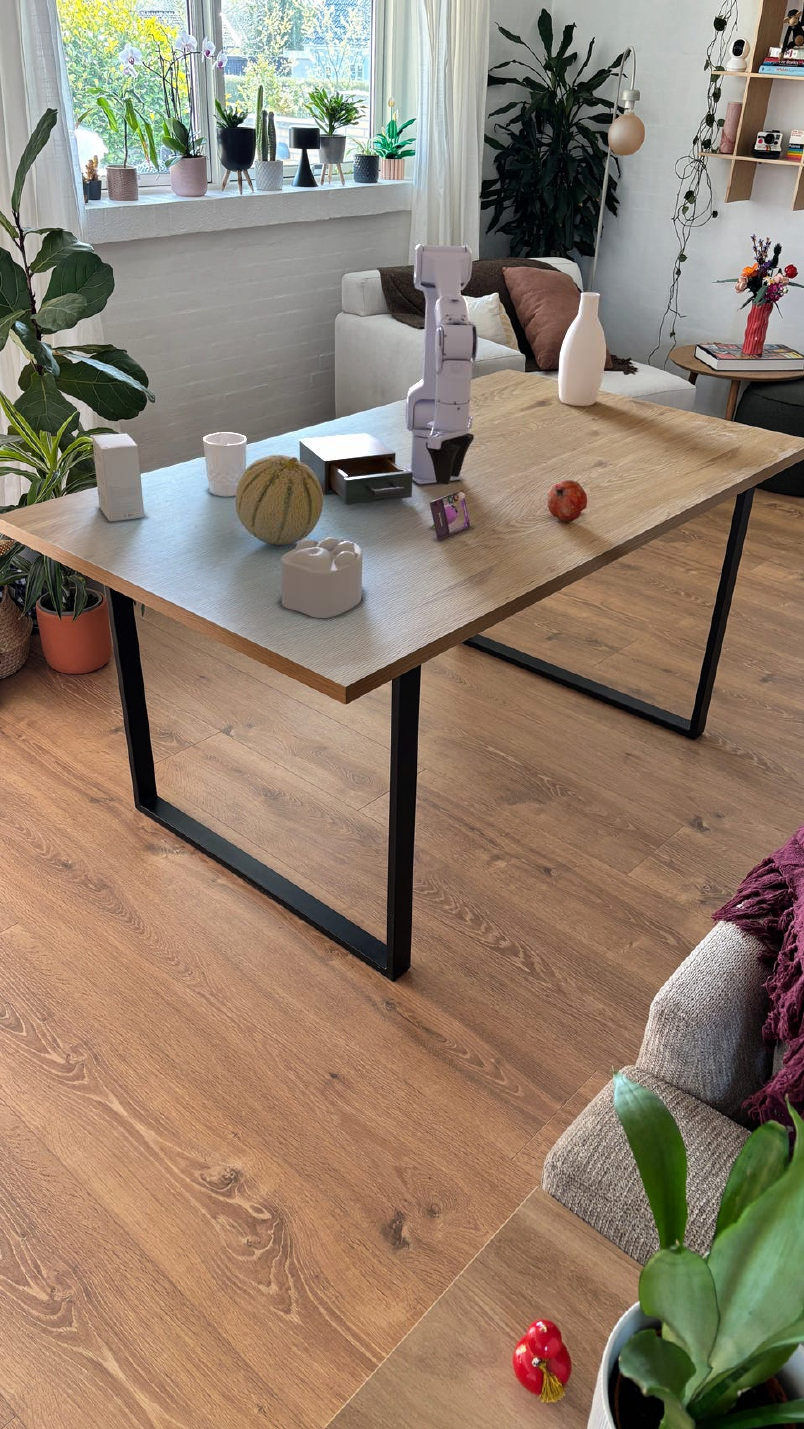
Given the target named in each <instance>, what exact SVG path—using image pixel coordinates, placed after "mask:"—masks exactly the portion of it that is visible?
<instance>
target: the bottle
mask: <svg viewBox="0 0 804 1429" xmlns="http://www.w3.org/2000/svg"><path fill="white" fill-rule="evenodd" d="M600 297H601V294H600V293H598V292H591V291H583V292H581V293H580V302H579V307H578V314H577V316H576V317H575V319H574V320H573V321H572V323H571V325H570V326H569V328H568V329H567V332H566V334H565V337H564V339H563V341H562V345H561V349H560V352H559V364H558V365H559V366H558V396H559V400H560V403H563V404H566V405H569V406H576V407H588V406H592V405H594V404H595V403H596V402H597V399H598V396H599V392H600V389H601V385H602V382H603V378H604V377H603V376H604V371H605V365H606V360H607V344H606V337H605V332H604V329H603V326H602V324H601V321H600V318H599V305H600V304H599V301H600Z"/></svg>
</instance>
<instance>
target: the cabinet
mask: <svg viewBox="0 0 804 1429" xmlns="http://www.w3.org/2000/svg"><path fill="white" fill-rule="evenodd" d="M298 443H299V461H300V462H302V463H304V464H305V465H307V466H308V467H309V468H310V469H311V470H312V471H313V472H314V474H315V475H316V477H317V479H318V481H319V483H320V486H321V489H322V493H323V495H331V494H338V493H337V492H336V491H335V490H334V489H332V488H331V487H330V486H329V485H328V472H329V464H335V463H344V462H353V461H363V460H372V459H381V458H388V459H389V460H391V461H392V462H394V463H395V464H396V457H397V456H396V452H395V451H393V449H391V448H390V447H388V446H386V445H385V444H384V443H383V442H381V441H380V440H378V439H377V438H376V437H374V436H372V435H371V434H370V433H368V432H365V433H355V434H346V435H345V434H344V435H334V436H333V435H332V436H324V437H313V438H304V439H299V442H298Z"/></svg>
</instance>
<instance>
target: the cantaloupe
mask: <svg viewBox="0 0 804 1429" xmlns="http://www.w3.org/2000/svg"><path fill="white" fill-rule="evenodd" d="M234 498H235V499H234V505H235V510H236V515H237V517H238V520H239V521H240V523H241V525H242V526H243V527H244V528H245V530H246V531H247V532H248V533H249V534H250V535H252V536H253V537H254V538H256V539H257V540H258V541H261V542H262V543H267V544H268V545H269V544H270V545H278V546H279V545H280V546H285V545H286V546H287V545H291V544H294V543H298V542H299V541H301V540H303V539H306V537H308V536H309V535H310V534H311V533H312V532H313V531H314V529H315V528H316V526H317V525H318V522H319V520H320V518H321V516H322V512H323V504H324V493H323V492H322V489H321V486H320V483H319V481H318V479H317V477H316V475H315V474H314V472H313V471H312V470H311V469H310V468H309V467H308V466H307V465H305V464H304V463H302V462H300V459H298V458H297V457H295V456H289V455H284V454H271V455H267V456H264V457H262V458H259V459H257V460H255V461H253V462H252V463H251V464H249V466H246V470H245V471H244V472H243V474H242V476H241V478H240V480H239V482H238V485H237V489H236V496H235V497H234Z"/></svg>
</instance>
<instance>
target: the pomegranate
mask: <svg viewBox="0 0 804 1429" xmlns="http://www.w3.org/2000/svg"><path fill="white" fill-rule="evenodd" d="M546 502H547V509H548V511H549V513H550V514H551V515H552V517H555V518H556V519H559V520H561V521H563V522H566V523H567V522H569V523H571V522H573V521H575V520H577V519H578V518H579V517H580V516H581V515H582V512H583V511H584V510H585V509H586V508H587V506H588V495H587V493H586V491H585V490H584V488H583V486H581V484H580V483H579V482H577V481H575V480H574V479H567V480H566V479H565V480H563V481H561V482H559V483H558V484H557V483H556V484H554V485H553V486H552V487H551V489H550V491H549V494H548V496H547V501H546Z"/></svg>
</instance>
